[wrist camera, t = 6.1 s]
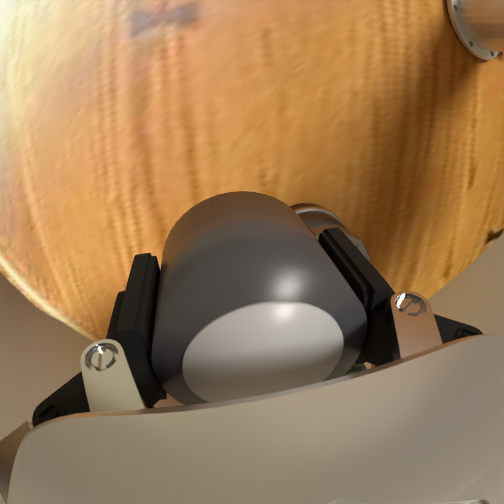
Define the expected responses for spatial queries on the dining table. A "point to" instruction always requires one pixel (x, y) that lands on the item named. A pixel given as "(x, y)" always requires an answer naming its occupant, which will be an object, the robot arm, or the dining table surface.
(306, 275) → the dark grey short cylinder
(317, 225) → the lens barrel
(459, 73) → the dining table surface
